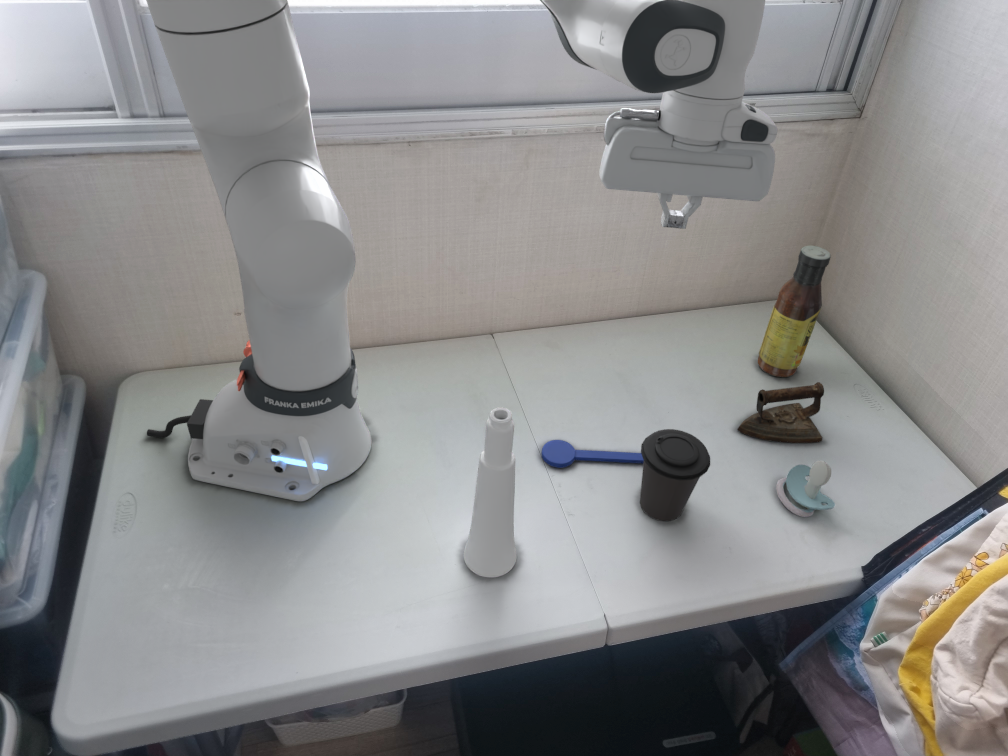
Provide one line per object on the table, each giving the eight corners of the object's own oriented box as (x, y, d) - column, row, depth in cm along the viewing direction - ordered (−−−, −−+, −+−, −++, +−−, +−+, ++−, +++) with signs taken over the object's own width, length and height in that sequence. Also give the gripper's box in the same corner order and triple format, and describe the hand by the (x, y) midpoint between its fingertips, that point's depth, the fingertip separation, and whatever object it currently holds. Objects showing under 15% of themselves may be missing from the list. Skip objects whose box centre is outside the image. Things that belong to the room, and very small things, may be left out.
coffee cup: (626, 477, 98) (639, 420, 92) (689, 482, 98) (707, 425, 92) (631, 527, 92) (646, 470, 85) (698, 532, 92) (718, 475, 85)
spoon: (661, 449, 102) (663, 444, 102) (666, 473, 99) (668, 469, 99) (541, 442, 102) (541, 438, 101) (541, 467, 99) (542, 462, 98)
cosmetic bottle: (502, 586, 84) (516, 445, 70) (454, 565, 86) (458, 423, 72) (524, 547, 89) (542, 406, 75) (478, 527, 90) (486, 386, 76)
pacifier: (790, 524, 94) (836, 519, 95) (804, 489, 90) (852, 485, 91) (766, 479, 99) (809, 475, 100) (778, 445, 95) (823, 441, 96)
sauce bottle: (799, 382, 115) (845, 269, 102) (757, 376, 116) (797, 262, 103) (793, 356, 120) (836, 244, 107) (753, 350, 121) (791, 238, 108)
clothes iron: (825, 443, 106) (837, 397, 98) (746, 463, 106) (752, 419, 98) (802, 406, 110) (812, 359, 103) (727, 425, 110) (731, 379, 103)
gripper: (610, 114, 85) (592, 230, 93) (792, 130, 86) (758, 243, 94) (605, 98, 90) (588, 209, 98) (776, 113, 91) (745, 222, 99)
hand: (672, 226), depth 96 cm, fingers closed
